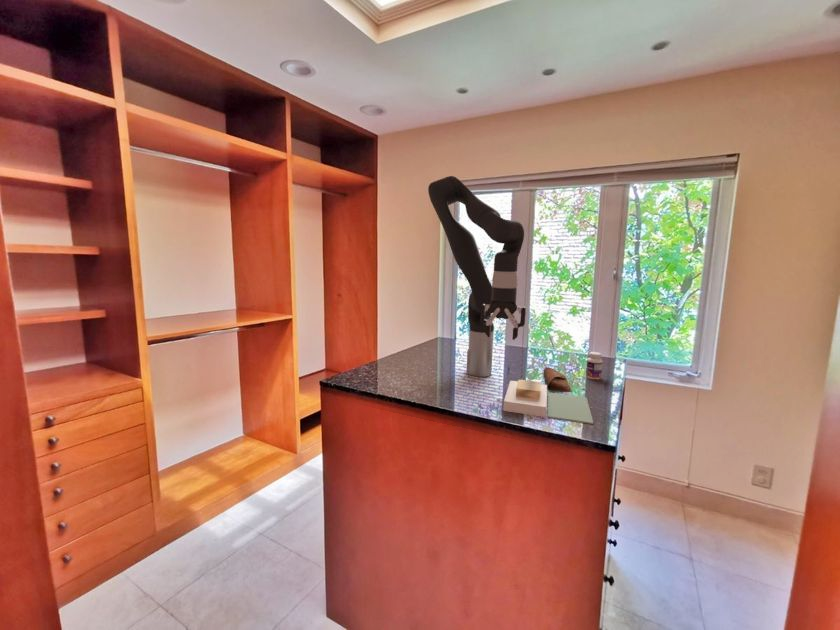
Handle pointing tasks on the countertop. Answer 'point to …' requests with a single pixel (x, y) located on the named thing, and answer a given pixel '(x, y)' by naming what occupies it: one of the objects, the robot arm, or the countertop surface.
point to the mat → (569, 408)
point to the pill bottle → (594, 366)
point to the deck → (525, 401)
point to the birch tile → (528, 389)
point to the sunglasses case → (556, 380)
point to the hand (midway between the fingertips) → (501, 337)
